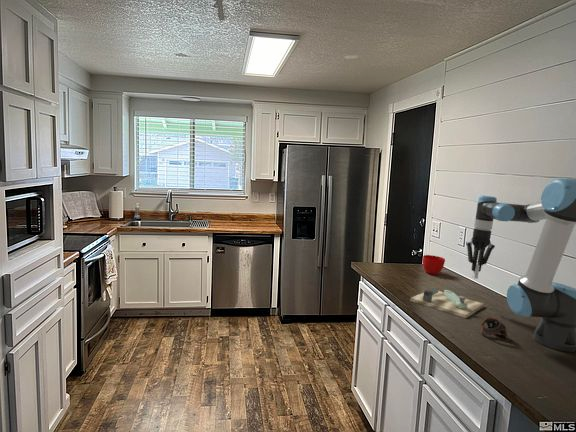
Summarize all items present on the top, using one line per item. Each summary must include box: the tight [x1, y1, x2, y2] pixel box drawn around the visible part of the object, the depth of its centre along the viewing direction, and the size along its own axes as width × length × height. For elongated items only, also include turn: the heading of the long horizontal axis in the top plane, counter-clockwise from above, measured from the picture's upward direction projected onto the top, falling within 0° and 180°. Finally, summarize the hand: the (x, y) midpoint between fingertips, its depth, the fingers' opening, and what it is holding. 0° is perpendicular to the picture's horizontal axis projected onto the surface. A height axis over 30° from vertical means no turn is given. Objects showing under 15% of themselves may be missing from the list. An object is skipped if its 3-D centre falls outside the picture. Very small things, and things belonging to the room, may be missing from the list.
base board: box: [409, 290, 485, 319], centre depth 196 cm, size 26×25×7 cm
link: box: [443, 289, 468, 309], centre depth 195 cm, size 22×5×2 cm, turn 178°
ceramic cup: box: [422, 254, 446, 276], centre depth 255 cm, size 13×17×10 cm
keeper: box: [423, 287, 440, 302], centre depth 195 cm, size 3×10×4 cm, turn 138°
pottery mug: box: [480, 316, 508, 340], centre depth 162 cm, size 12×10×8 cm
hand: (474, 277), depth 194 cm, fingers closed
